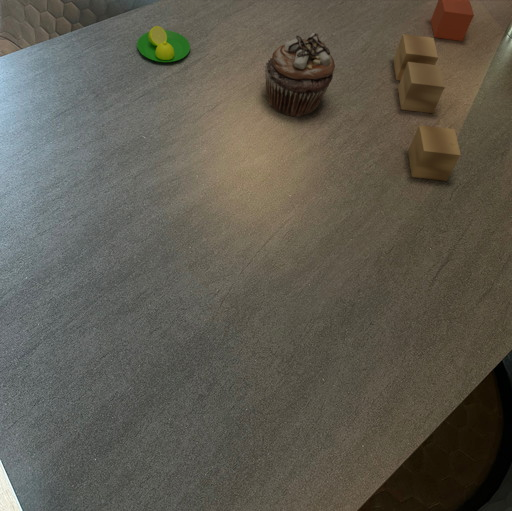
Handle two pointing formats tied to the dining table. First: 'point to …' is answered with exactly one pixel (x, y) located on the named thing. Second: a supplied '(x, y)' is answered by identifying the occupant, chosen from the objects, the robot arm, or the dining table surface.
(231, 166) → the dining table surface
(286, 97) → the cupcake
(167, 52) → the lemon
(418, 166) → the maple block
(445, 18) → the terracotta block
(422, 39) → the maple block
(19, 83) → the dining table surface
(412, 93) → the maple block
